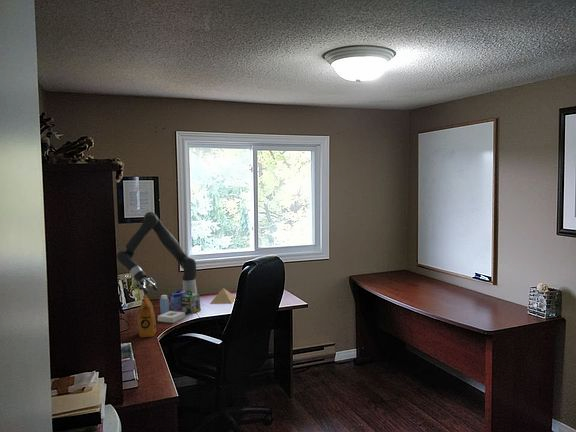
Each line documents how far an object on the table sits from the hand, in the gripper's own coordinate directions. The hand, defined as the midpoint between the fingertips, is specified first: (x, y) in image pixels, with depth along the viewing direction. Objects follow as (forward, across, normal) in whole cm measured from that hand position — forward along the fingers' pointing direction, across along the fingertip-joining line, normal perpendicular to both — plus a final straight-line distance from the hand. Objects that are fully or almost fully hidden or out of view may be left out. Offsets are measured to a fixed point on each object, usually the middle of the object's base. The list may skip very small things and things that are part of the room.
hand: (152, 291), depth 301 cm
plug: (+18, 0, +4) cm, 18 cm away
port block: (+26, -8, -5) cm, 28 cm away
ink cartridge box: (+19, +12, +2) cm, 23 cm away
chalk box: (+27, +11, -5) cm, 30 cm away
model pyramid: (+31, +42, -9) cm, 53 cm away
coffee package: (+30, -36, -8) cm, 47 cm away
